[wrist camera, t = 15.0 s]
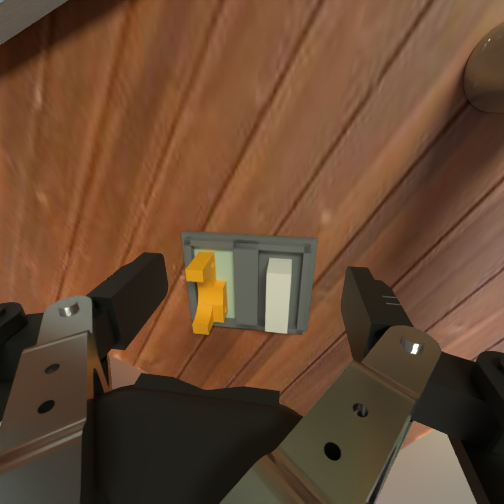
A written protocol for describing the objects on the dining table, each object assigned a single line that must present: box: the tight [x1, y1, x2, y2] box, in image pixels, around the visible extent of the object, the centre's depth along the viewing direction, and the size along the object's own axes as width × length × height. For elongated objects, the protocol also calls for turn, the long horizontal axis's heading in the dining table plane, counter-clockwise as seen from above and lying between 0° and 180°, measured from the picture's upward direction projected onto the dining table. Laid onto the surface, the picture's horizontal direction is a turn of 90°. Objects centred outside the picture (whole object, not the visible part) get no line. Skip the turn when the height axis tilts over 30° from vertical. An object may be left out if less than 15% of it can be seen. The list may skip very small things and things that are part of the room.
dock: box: [181, 231, 317, 335], centre depth 45 cm, size 22×18×6 cm
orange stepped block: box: [185, 251, 228, 335], centre depth 44 cm, size 12×4×6 cm, turn 0°
